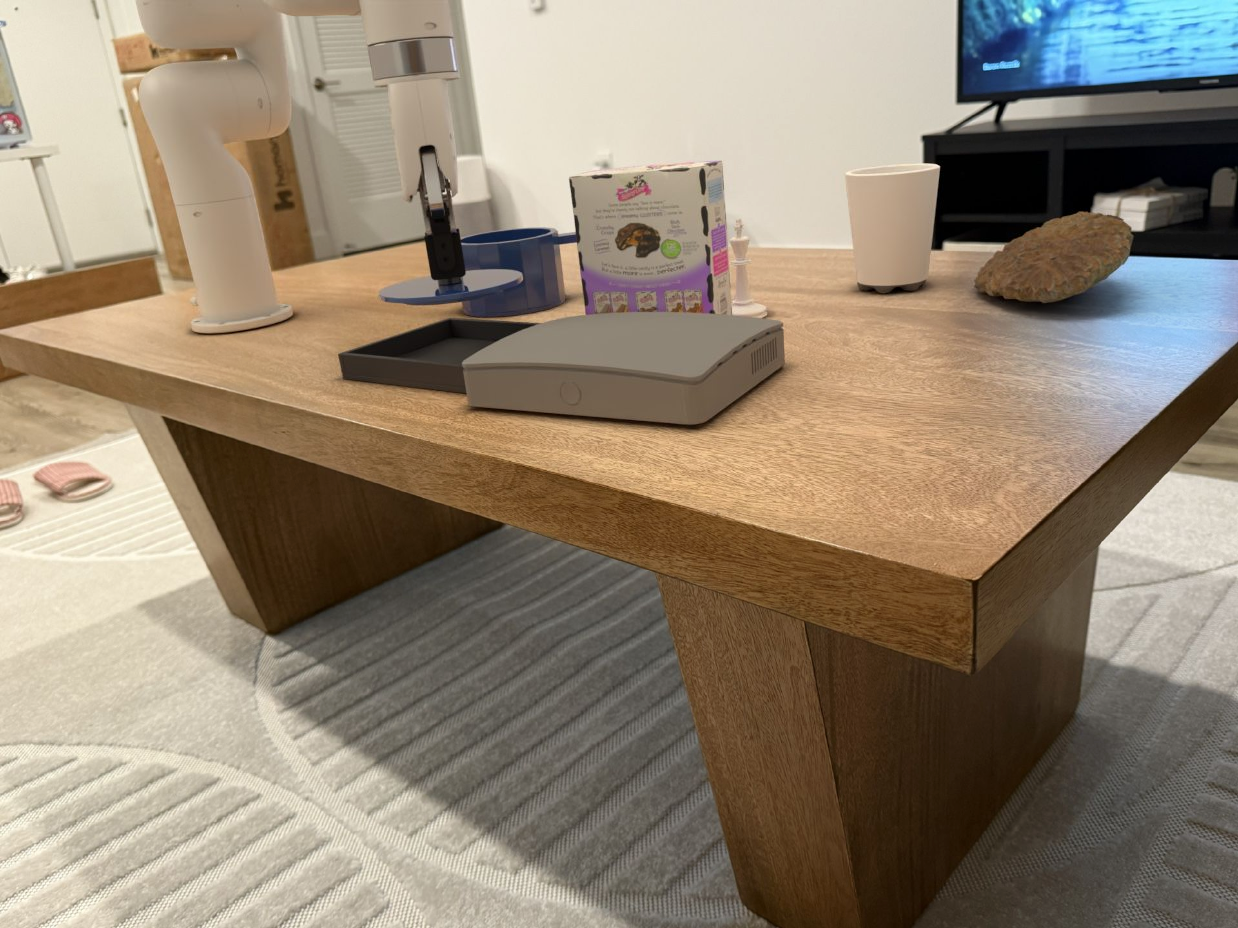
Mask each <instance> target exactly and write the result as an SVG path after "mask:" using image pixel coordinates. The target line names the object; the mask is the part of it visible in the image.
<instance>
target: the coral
mask: <svg viewBox="0 0 1238 928" xmlns="http://www.w3.org/2000/svg"><path fill="white" fill-rule="evenodd" d="M1133 240H1134V235H1133V234H1132V226H1131V225H1129V224H1128V223H1127V222H1125V221H1124V218H1122V217H1120V216H1118V215H1112V214H1103V213H1100V212H1096V213H1095V212H1088V211H1077V213H1073V214H1071V215H1066V216H1062V217H1061V218H1059V217H1056V218H1052V219H1050V220H1048V221H1046V222H1043V225H1041V227H1039V226H1037V227H1036V228H1033V229H1030V230H1028V231H1025V233H1024V234H1022V236H1019V237H1017V238H1014V239H1012V240H1011V241H1009V242H1008V243H1006V244H1004V247H1003V248H1002V250H996V251H995V252H994V254H993V255H992V258H989V259H988V260H987V261H986V263H985V264H984V266H982V267H980V269H979V270H978V272H977V276H976V277H975V279H974V280H973V282H974V285H973V288H974V289H977V290H978V293H981V294H987V295H988V296H991V297H1003V298H1004V299H1005V300H1018V301H1020V302H1029V303H1030V302H1035V303H1040V302H1041V303H1042V304H1048V303H1055V302H1059V301H1062V300H1065V299H1067V298H1071V297H1074V296H1077V295H1079V294H1084V293H1085V292H1086V291H1089V290H1091V289H1092V288H1094V287H1095V286H1096V285H1098V284H1100V283H1101V282H1102V281H1104V280H1105V281H1106V280H1107V279H1108V278H1109V277H1110V276H1111V275H1112V274H1113V273H1114V272H1116V271H1117V270H1119V269H1120V267H1121V266H1124V265H1125V263H1126V262H1127V261H1128V259H1129V257H1130V253H1131V247H1132V244H1133Z"/></svg>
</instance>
